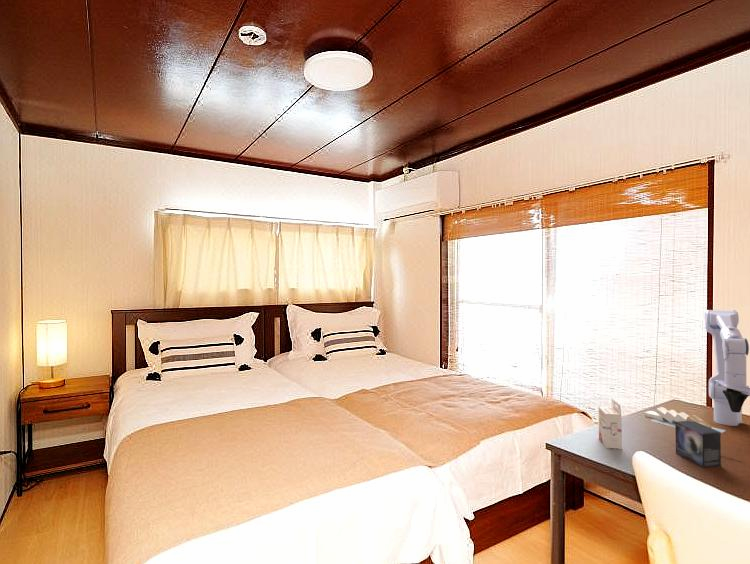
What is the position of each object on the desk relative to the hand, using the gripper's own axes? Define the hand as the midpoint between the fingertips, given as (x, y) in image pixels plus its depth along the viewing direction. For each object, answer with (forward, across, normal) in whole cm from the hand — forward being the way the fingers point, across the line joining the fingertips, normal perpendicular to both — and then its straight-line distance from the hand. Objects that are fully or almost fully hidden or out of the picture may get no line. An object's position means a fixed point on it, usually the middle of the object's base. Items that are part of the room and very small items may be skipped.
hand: (735, 411), depth 146 cm
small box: (+10, -16, +25) cm, 32 cm away
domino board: (+9, +11, +9) cm, 17 cm away
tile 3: (+8, +11, +9) cm, 16 cm away
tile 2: (+8, +8, +7) cm, 13 cm away
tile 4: (+8, +14, +11) cm, 20 cm away
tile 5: (+8, +17, +12) cm, 23 cm away
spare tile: (+8, +5, +5) cm, 11 cm away
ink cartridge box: (+10, -3, +46) cm, 47 cm away
